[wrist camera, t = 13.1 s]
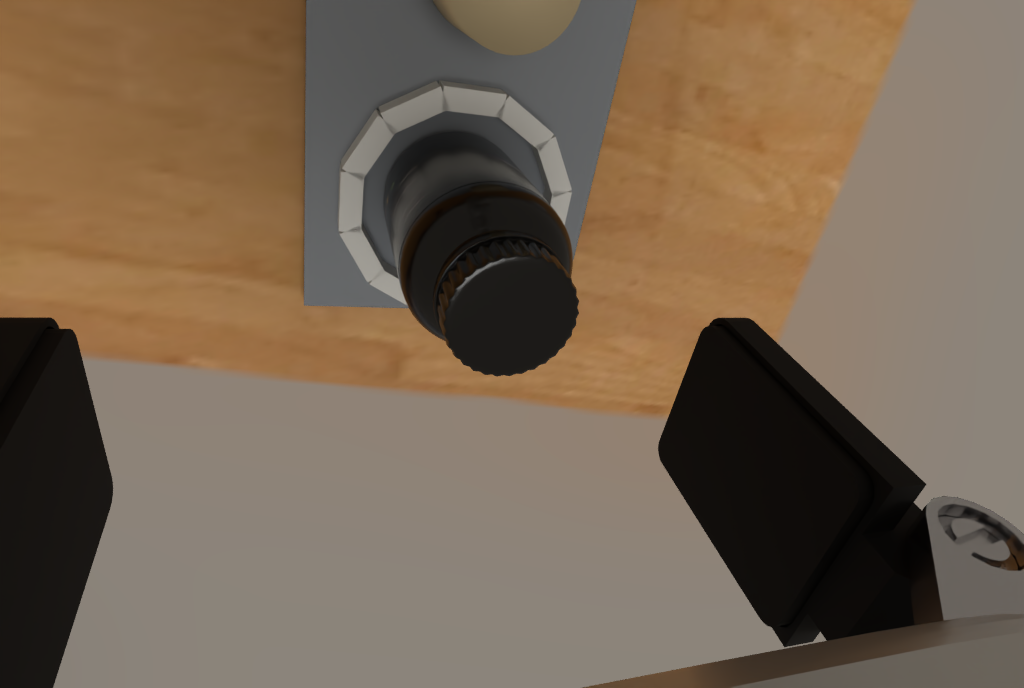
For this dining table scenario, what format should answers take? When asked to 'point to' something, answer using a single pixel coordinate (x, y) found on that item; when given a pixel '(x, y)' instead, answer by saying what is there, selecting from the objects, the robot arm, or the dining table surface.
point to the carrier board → (444, 113)
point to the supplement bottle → (480, 254)
